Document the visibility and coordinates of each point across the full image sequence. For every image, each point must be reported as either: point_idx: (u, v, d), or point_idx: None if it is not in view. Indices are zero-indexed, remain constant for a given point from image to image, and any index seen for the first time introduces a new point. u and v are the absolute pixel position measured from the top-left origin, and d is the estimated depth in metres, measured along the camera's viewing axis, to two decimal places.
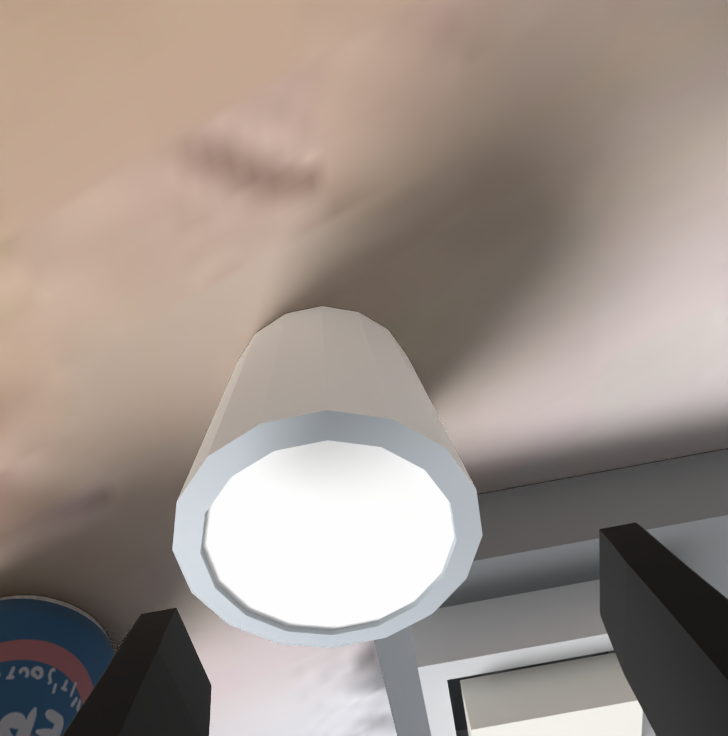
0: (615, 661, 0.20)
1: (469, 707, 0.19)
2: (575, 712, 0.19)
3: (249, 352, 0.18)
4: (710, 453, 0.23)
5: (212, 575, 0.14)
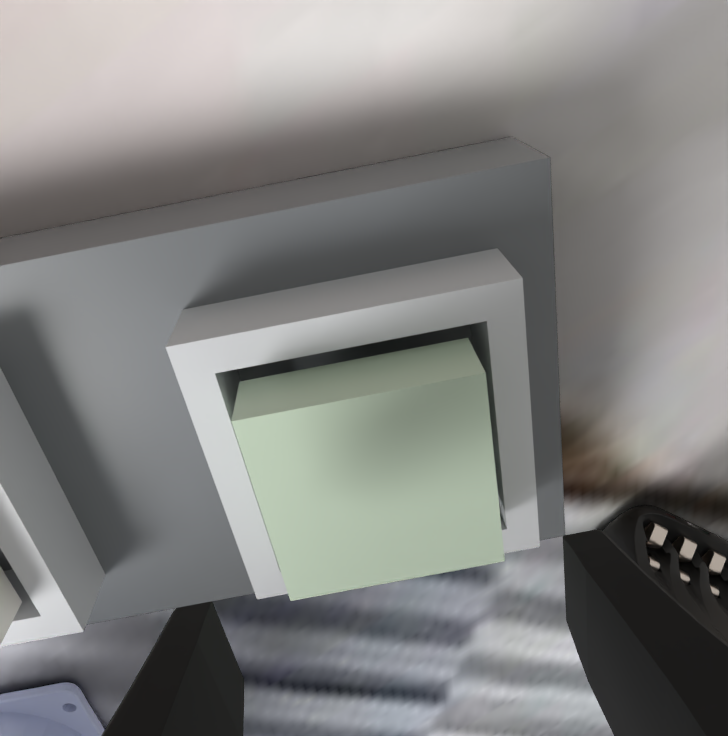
0: None
1: None
2: None
3: None
4: (157, 207, 0.17)
5: None
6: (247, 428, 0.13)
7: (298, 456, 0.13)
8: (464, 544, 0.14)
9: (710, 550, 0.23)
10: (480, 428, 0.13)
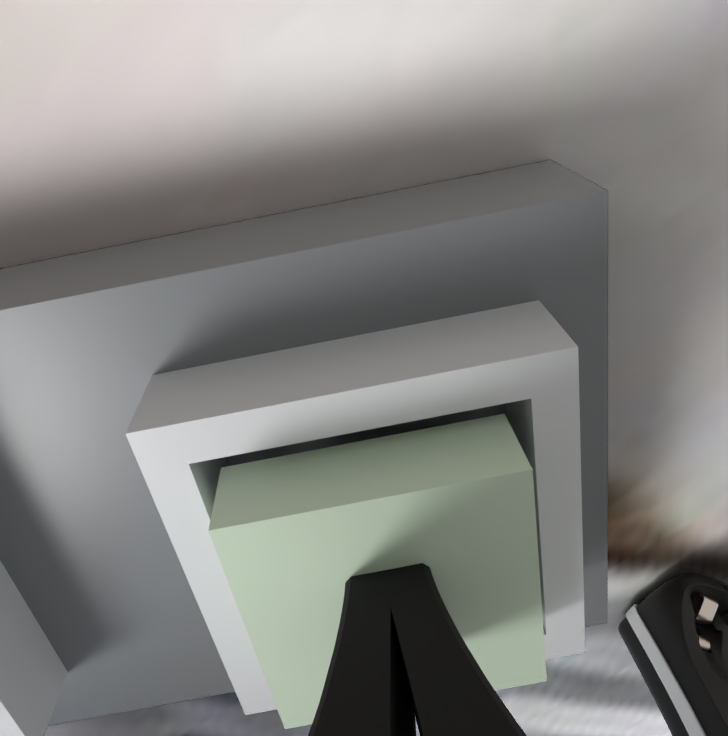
0: None
1: None
2: None
3: None
4: (126, 244, 0.14)
5: None
6: (228, 538, 0.10)
7: (294, 569, 0.10)
8: (498, 664, 0.12)
9: None
10: (523, 534, 0.10)
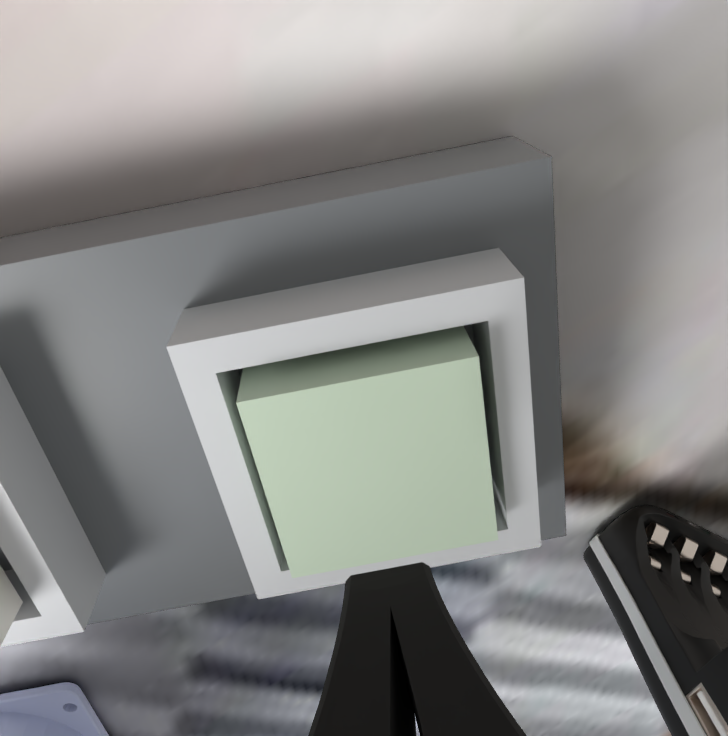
0: None
1: None
2: None
3: None
4: (158, 206, 0.17)
5: None
6: (251, 409, 0.13)
7: (300, 436, 0.14)
8: (459, 523, 0.15)
9: (711, 550, 0.23)
10: (474, 410, 0.14)
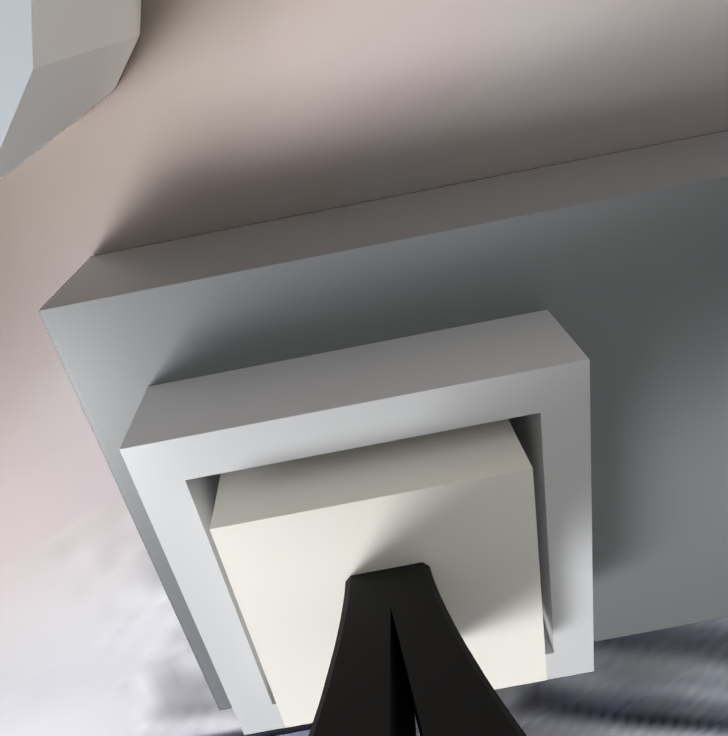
0: (494, 424, 0.11)
1: (221, 499, 0.10)
2: (406, 496, 0.10)
3: None
4: (687, 139, 0.13)
5: None
6: None
7: None
8: None
9: None
10: None
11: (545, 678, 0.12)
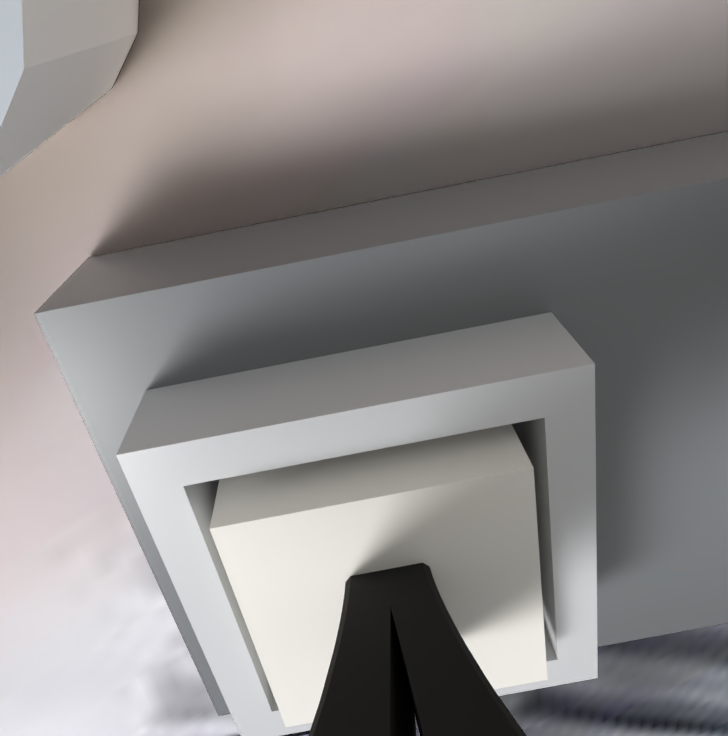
0: None
1: (221, 499, 0.10)
2: (406, 495, 0.10)
3: None
4: (693, 138, 0.13)
5: None
6: None
7: None
8: None
9: None
10: None
11: (546, 677, 0.12)
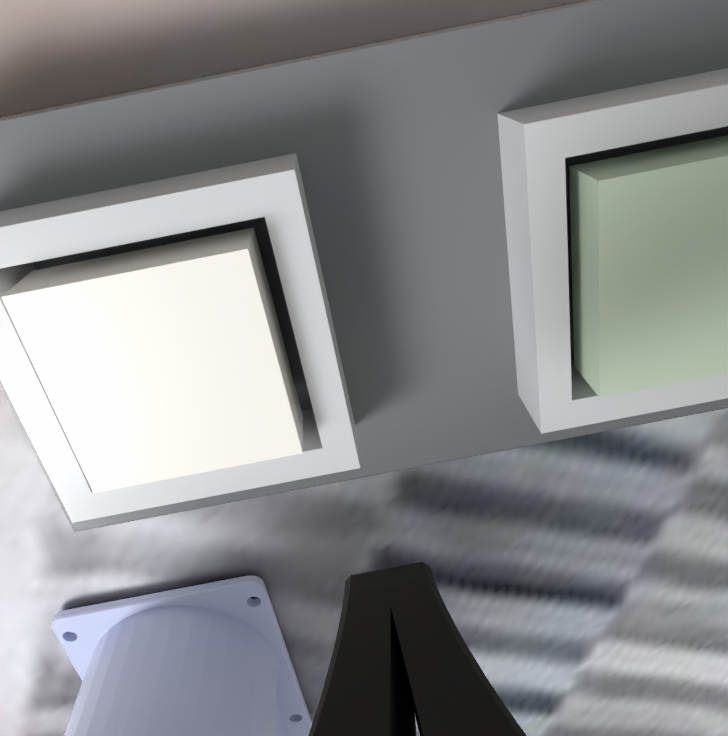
0: (241, 233, 0.14)
1: (19, 284, 0.13)
2: (151, 271, 0.13)
3: None
4: (437, 30, 0.16)
5: None
6: (611, 189, 0.13)
7: (651, 224, 0.13)
8: None
9: None
10: None
11: (301, 451, 0.15)
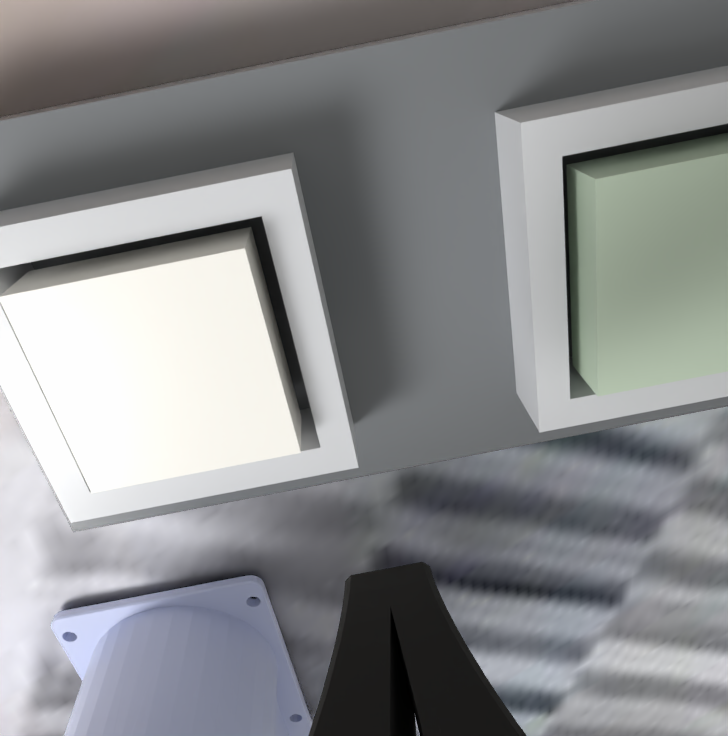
0: (238, 232, 0.14)
1: (16, 284, 0.13)
2: (148, 271, 0.13)
3: None
4: (434, 29, 0.16)
5: None
6: (609, 187, 0.13)
7: (648, 223, 0.13)
8: None
9: None
10: None
11: (299, 451, 0.15)
